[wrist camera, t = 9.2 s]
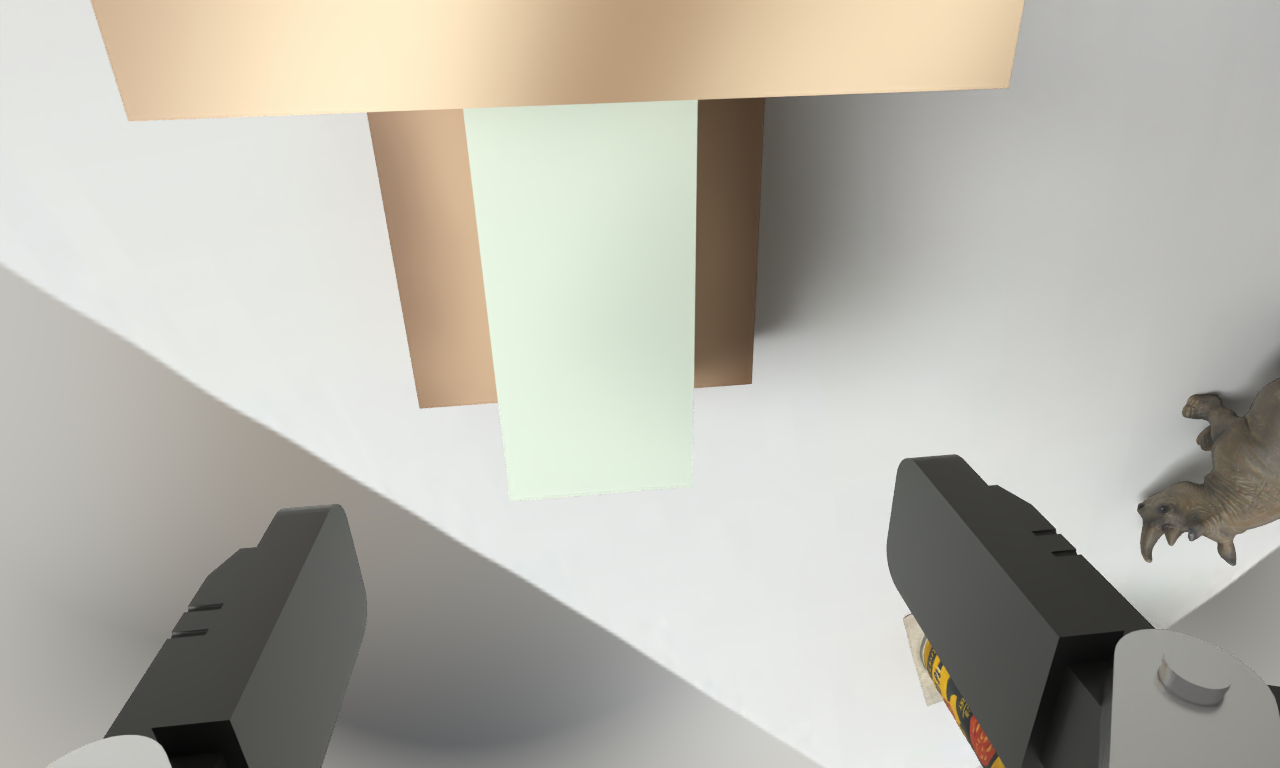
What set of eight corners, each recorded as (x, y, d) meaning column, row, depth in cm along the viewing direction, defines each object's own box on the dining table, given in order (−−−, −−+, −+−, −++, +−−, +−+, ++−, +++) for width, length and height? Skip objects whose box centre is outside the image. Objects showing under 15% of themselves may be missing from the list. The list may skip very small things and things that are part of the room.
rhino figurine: (1073, 505, 37) (1164, 586, 31) (1298, 279, 33) (1446, 328, 27) (1124, 536, 38) (1219, 619, 33) (1346, 323, 34) (1496, 378, 28)
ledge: (736, 53, 26) (766, 57, 22) (727, 342, 31) (751, 384, 27) (386, 65, 25) (359, 70, 21) (435, 362, 29) (419, 408, 26)
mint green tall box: (654, 79, 22) (697, 99, 16) (658, 398, 27) (692, 510, 21) (487, 84, 22) (462, 106, 15) (521, 407, 26) (512, 525, 20)
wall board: (737, 5, 25) (1030, -32, 10) (736, 53, 26) (1008, 87, 11) (378, 15, 24) (86, -11, 9) (386, 65, 25) (128, 120, 9)
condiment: (900, 615, 39) (1036, 840, 28) (1055, 560, 38) (1253, 767, 28) (924, 703, 42) (1054, 934, 31) (1067, 653, 41) (1248, 870, 31)
